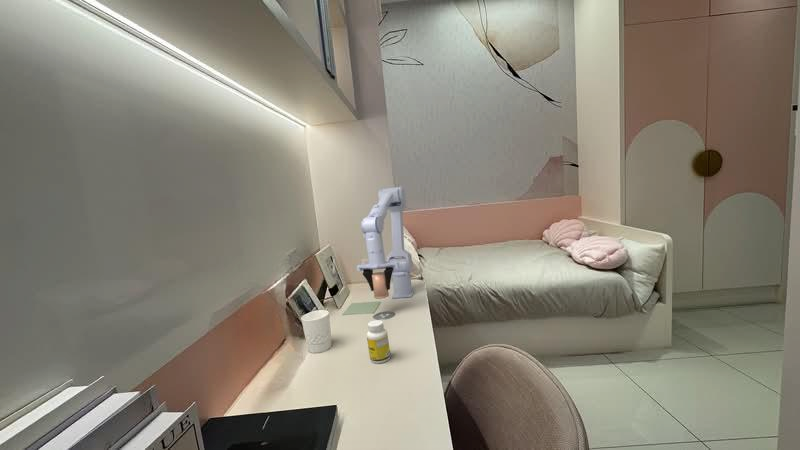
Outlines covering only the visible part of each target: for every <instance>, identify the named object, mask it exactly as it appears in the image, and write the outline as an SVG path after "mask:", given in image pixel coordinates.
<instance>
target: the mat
mask: <svg viewBox="0 0 800 450" xmlns="http://www.w3.org/2000/svg"><path fill="white" fill-rule="evenodd" d="M380 304H381V300H378V301H366V302H364V301H363V302H352V303H350V304H349V306H348V307H347V308H346V309H345V311H343V312H342V316H350V315H363V314H364V315H366V314H374V313H375V312H376V310H377V309H378V307H379V306H380Z"/></svg>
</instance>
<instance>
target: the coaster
mask: <svg viewBox="0 0 800 450" xmlns="http://www.w3.org/2000/svg"><path fill="white" fill-rule="evenodd" d="M395 316H396V312H395V311H391V310H388V311H387V310H386V311H380V312H377V313H375V314H373V315H372V318H373V319H374V320H381V321H386V320H390V319H392V318H393V317H395Z"/></svg>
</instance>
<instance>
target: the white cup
mask: <svg viewBox="0 0 800 450" xmlns="http://www.w3.org/2000/svg"><path fill="white" fill-rule="evenodd" d="M300 319H301V325H302V328H303V334H304V338H305V341H306V346H307V349H308V350H307V351H308V352H309V353H311V354H319V353H323V352H326V351H328V350H330V348H332V345H333V343H332V331H331V321H330V320H331V319H330V311H328V310H321V309H320V310H313V311H310V312H308V313H305V314H303V315H302V316H301V317H300Z"/></svg>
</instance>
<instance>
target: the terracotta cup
mask: <svg viewBox="0 0 800 450" xmlns="http://www.w3.org/2000/svg"><path fill="white" fill-rule="evenodd" d="M372 282H373V289H374V291H373V298H374V299H379V300H380V299H385V298H386V299H387V298H388V297H389V296H390V292H389V290H387V286H386V278H385V273H384V271H379V272H373V274H372Z"/></svg>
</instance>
